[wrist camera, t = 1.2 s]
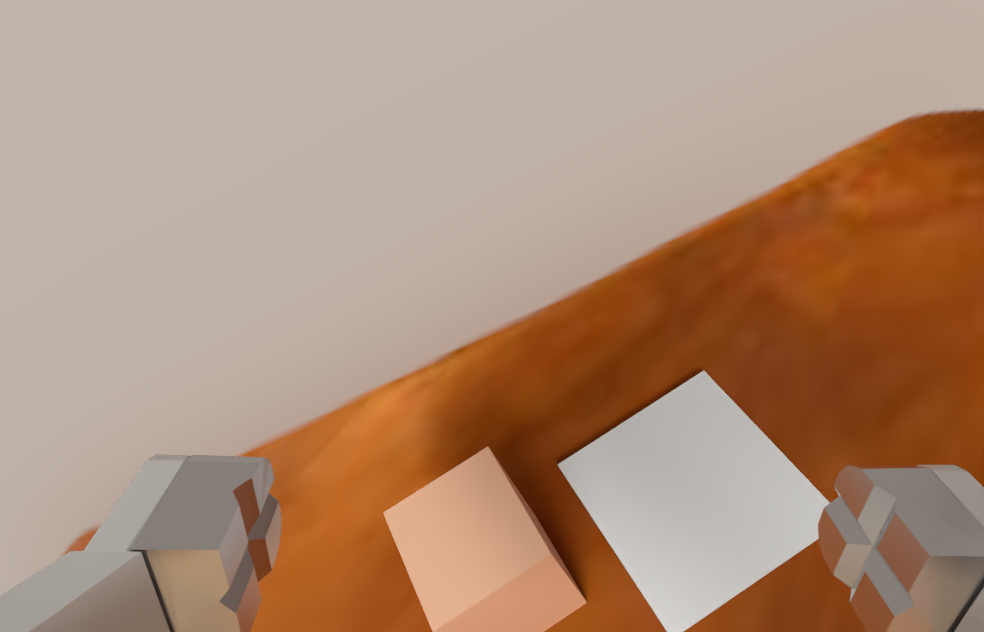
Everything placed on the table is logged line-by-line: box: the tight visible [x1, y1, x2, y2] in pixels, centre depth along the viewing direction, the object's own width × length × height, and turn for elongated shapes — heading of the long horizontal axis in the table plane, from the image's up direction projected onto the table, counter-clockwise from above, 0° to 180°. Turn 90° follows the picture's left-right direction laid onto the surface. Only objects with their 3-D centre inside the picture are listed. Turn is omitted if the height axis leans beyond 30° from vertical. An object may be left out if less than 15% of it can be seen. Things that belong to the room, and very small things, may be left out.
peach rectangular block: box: [383, 447, 587, 632], centre depth 33 cm, size 6×6×12 cm
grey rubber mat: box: [558, 371, 830, 632], centre depth 38 cm, size 12×12×1 cm
